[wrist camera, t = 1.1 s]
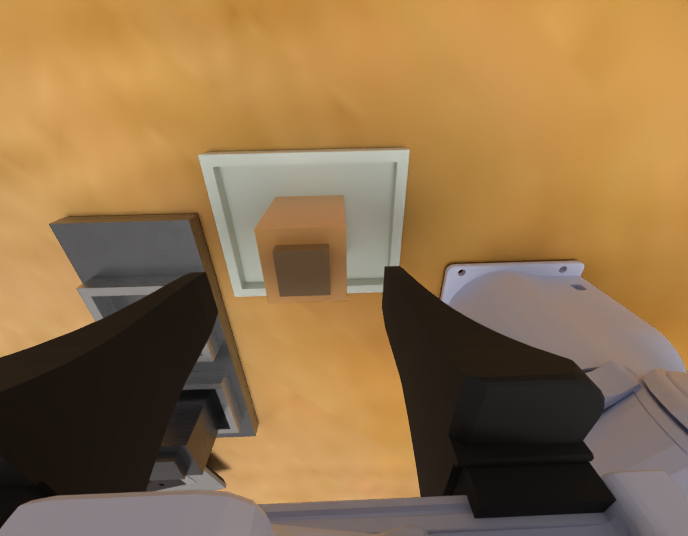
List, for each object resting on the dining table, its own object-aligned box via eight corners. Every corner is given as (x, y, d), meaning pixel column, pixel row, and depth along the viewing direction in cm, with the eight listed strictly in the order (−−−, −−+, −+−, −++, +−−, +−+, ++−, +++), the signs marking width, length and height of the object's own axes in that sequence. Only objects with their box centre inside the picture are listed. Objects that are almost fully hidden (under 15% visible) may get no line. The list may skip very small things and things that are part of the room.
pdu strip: (66, 216, 17) (-74, 274, 11) (197, 213, 17) (126, 268, 11) (178, 426, 28) (136, 511, 22) (258, 423, 28) (238, 507, 22)
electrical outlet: (231, 466, 33) (224, 491, 31) (154, 484, 34) (143, 508, 32) (157, 399, 26) (142, 424, 24) (68, 424, 28) (46, 449, 26)
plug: (343, 195, 17) (346, 231, 12) (344, 255, 19) (347, 308, 14) (275, 196, 17) (250, 234, 12) (283, 257, 19) (265, 310, 14)
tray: (404, 146, 16) (409, 149, 15) (393, 282, 20) (396, 291, 19) (207, 151, 16) (197, 154, 15) (240, 287, 20) (234, 296, 19)
